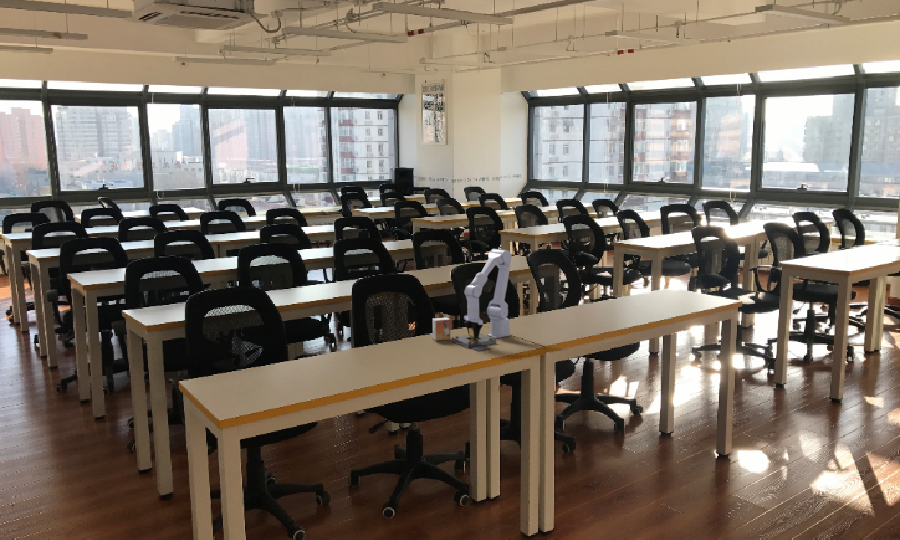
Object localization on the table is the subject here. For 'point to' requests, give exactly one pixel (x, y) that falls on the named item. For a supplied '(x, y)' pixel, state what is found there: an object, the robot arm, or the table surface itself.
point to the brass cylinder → (471, 334)
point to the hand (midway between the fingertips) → (473, 336)
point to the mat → (480, 348)
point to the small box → (441, 329)
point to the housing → (473, 341)
